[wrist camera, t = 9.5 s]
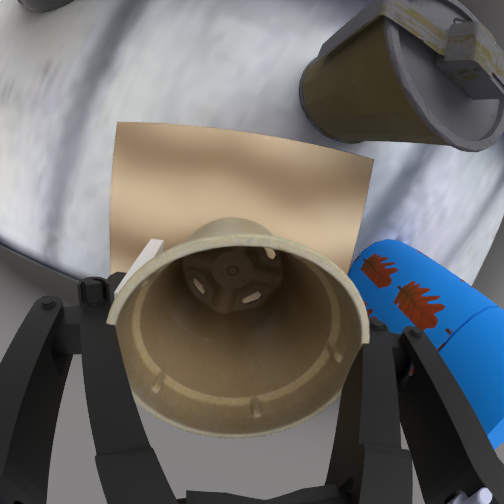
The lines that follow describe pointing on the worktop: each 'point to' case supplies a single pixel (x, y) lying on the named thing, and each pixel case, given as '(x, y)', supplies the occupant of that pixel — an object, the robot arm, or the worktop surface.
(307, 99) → the canister
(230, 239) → the flower pot
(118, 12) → the worktop surface
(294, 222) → the footstool
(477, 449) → the robot arm
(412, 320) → the thermos
